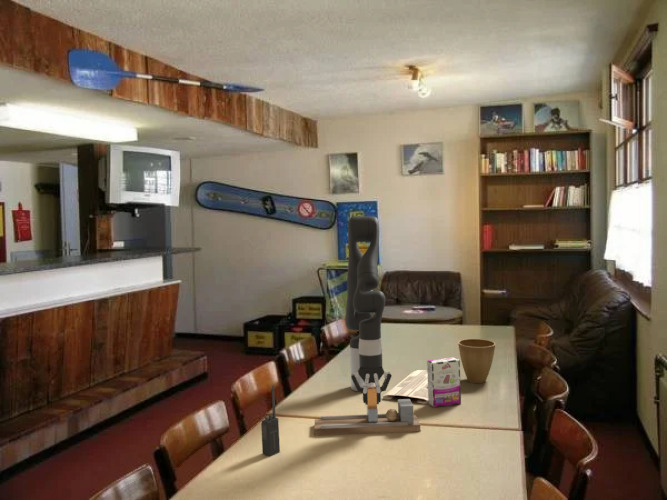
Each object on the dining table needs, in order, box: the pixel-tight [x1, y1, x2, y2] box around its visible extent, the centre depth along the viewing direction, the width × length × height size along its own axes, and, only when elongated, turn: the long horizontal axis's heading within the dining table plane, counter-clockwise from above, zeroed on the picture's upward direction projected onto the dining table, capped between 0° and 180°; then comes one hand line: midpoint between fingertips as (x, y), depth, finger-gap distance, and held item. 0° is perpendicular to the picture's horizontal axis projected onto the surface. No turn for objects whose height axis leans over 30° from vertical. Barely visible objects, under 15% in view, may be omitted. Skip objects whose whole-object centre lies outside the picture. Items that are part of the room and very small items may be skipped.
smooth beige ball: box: [385, 408, 398, 421], centre depth 189 cm, size 4×4×4 cm
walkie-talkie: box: [260, 385, 281, 457], centre depth 171 cm, size 5×3×20 cm
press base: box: [314, 398, 421, 436], centre depth 189 cm, size 9×34×8 cm, turn 92°
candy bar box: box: [426, 357, 462, 408], centre depth 210 cm, size 11×5×16 cm, turn 106°
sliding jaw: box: [366, 385, 379, 423], centre depth 189 cm, size 7×3×11 cm, turn 2°
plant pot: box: [457, 338, 496, 384], centre depth 238 cm, size 15×15×16 cm
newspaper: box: [382, 369, 429, 405], centre depth 231 cm, size 37×19×3 cm, turn 154°
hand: (371, 403), depth 189 cm, fingers closed on sliding jaw, 3 cm apart
